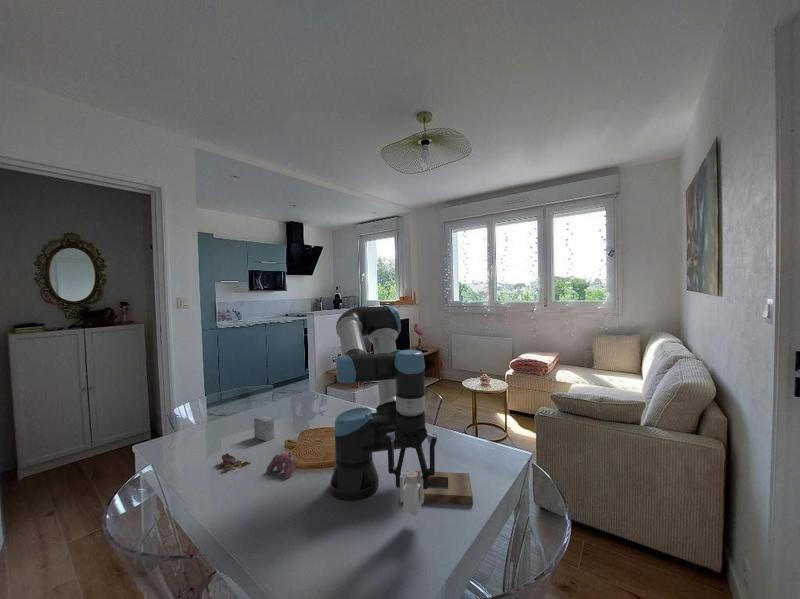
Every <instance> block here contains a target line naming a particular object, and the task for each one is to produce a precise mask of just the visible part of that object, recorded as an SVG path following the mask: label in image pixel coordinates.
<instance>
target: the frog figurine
mask: <svg viewBox="0 0 800 599" xmlns="http://www.w3.org/2000/svg"><path fill="white" fill-rule="evenodd" d="M236 458H237V457H236V456H233V455H230V453H228V452H226V453H225V454H222V456H221V460H222V461H221V463H219V464H218V465H217V468H218V467H222V470H223V471H222V472H223V473H226V474H229V472H230V473H231V472H232V473H233V474H235V473H236V472H241V470H242V469H243V468H247V467H249V466H250V465H252V462H251V459H250V460H249V459H248V460H245V459H246V458H245V457H239V458H238V459H241V460H237V459H236ZM242 459H243V460H245V461H242ZM246 466H247V467H246ZM232 469H234V471H231V470H232Z"/></svg>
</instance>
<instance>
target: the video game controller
mask: <svg viewBox="0 0 800 599" xmlns="http://www.w3.org/2000/svg"><path fill="white" fill-rule="evenodd" d="M297 465H298V459H297V458H296V457H294V456H293V455H292V454H290V453H285V452H283V453H276V454H275V456H273V457H272V459H271V461H270V462H269V464H267V467H266V472H265V473H266V474H270V473H272V472H273V471H274V470H275V468H276V471H277V472H282V471H283V473H284V478H285V479H288V478H290V477H291V476H292V474H293V472H294V471H295V468H297Z"/></svg>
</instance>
